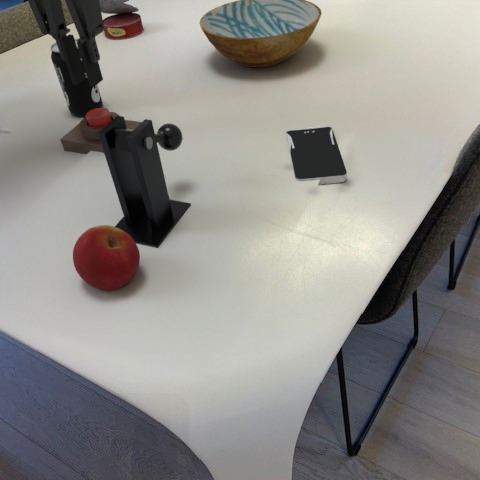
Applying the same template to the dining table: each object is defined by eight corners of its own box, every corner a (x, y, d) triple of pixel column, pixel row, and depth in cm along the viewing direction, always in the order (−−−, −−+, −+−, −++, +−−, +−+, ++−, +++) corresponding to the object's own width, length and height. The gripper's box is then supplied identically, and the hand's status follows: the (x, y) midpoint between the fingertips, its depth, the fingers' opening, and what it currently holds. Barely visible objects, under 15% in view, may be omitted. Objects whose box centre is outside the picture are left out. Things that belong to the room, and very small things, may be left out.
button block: (64, 150, 87) (56, 129, 84) (92, 126, 92) (86, 105, 89) (121, 160, 83) (115, 137, 80) (148, 134, 88) (142, 112, 85)
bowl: (186, 78, 103) (180, 36, 97) (227, 34, 119) (223, -5, 113) (304, 85, 96) (304, 40, 90) (330, 37, 112) (333, -4, 106)
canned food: (109, 54, 129) (86, 14, 124) (139, 38, 132) (118, -2, 127) (122, 41, 119) (98, -3, 115) (155, 24, 122) (133, -19, 118)
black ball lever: (164, 148, 72) (165, 121, 70) (186, 151, 71) (187, 124, 69) (109, 154, 60) (109, 123, 59) (134, 158, 59) (134, 126, 58)
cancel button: (84, 127, 84) (81, 117, 83) (97, 116, 87) (94, 106, 85) (103, 129, 83) (100, 119, 82) (116, 118, 85) (113, 108, 84)
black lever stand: (144, 201, 74) (118, 104, 63) (192, 210, 72) (173, 110, 61) (109, 242, 68) (73, 142, 57) (159, 253, 66) (132, 151, 55)
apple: (102, 313, 59) (80, 263, 53) (75, 278, 64) (53, 229, 58) (156, 284, 62) (142, 234, 56) (127, 253, 66) (111, 203, 60)
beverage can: (93, 119, 94) (72, 52, 85) (64, 117, 96) (40, 51, 87) (109, 103, 98) (91, 38, 89) (81, 101, 100) (60, 37, 91)
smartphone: (295, 179, 73) (285, 129, 82) (295, 187, 74) (285, 137, 83) (347, 174, 72) (331, 125, 82) (347, 182, 73) (330, 132, 83)
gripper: (98, -116, 62) (141, 76, 80) (2, -112, 67) (62, 69, 84) (62, -105, 58) (116, 96, 75) (-38, -100, 63) (35, 87, 80)
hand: (88, 81), depth 80 cm, fingers open, 3 cm apart
